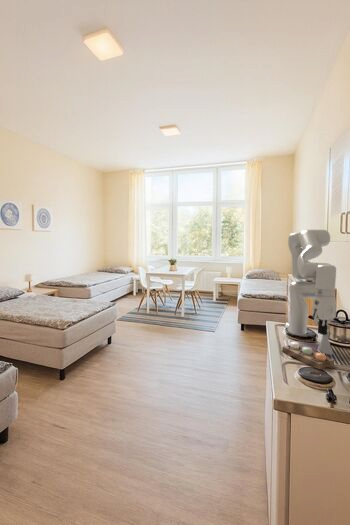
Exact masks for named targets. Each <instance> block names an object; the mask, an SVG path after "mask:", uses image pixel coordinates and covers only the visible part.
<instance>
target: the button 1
mask: <svg viewBox="0 0 350 525" xmlns="http://www.w3.org/2000/svg"><path fill="white" fill-rule="evenodd" d="M289 345H290V348H292V349H294V350H297V349H299V345H300V343H299V342H297V341H290V343H289Z"/></svg>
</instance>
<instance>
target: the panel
mask: <svg viewBox="0 0 350 525" xmlns="http://www.w3.org/2000/svg"><path fill="white" fill-rule="evenodd" d="M281 347H282V348H281V349H282V350H281V352H282V353H284V354H287V356H288V355H289V356H290V357H292V356H293V357H292V358H295V359H297V360H298V361H301V362H302V363H304V364H307V366H308V365H309V366H310V367H312V368H314V367H315V368H314V369H316V368H318V369H319V370H322V369H326V368H328V367H333V366H335V359H334V358H331V357H330V356H326V361H325V362H320V361H318V360H316V359H315V357H316V353H318V352H317V351H314V350H313V349H312V355H309V356H307V355H305V354H303V353H302V348H303V347H304V346H303V345H301V344H299V349H297V350H294V349H292V348H290V344H287V345H283V346H281ZM318 369H317V370H318Z"/></svg>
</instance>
